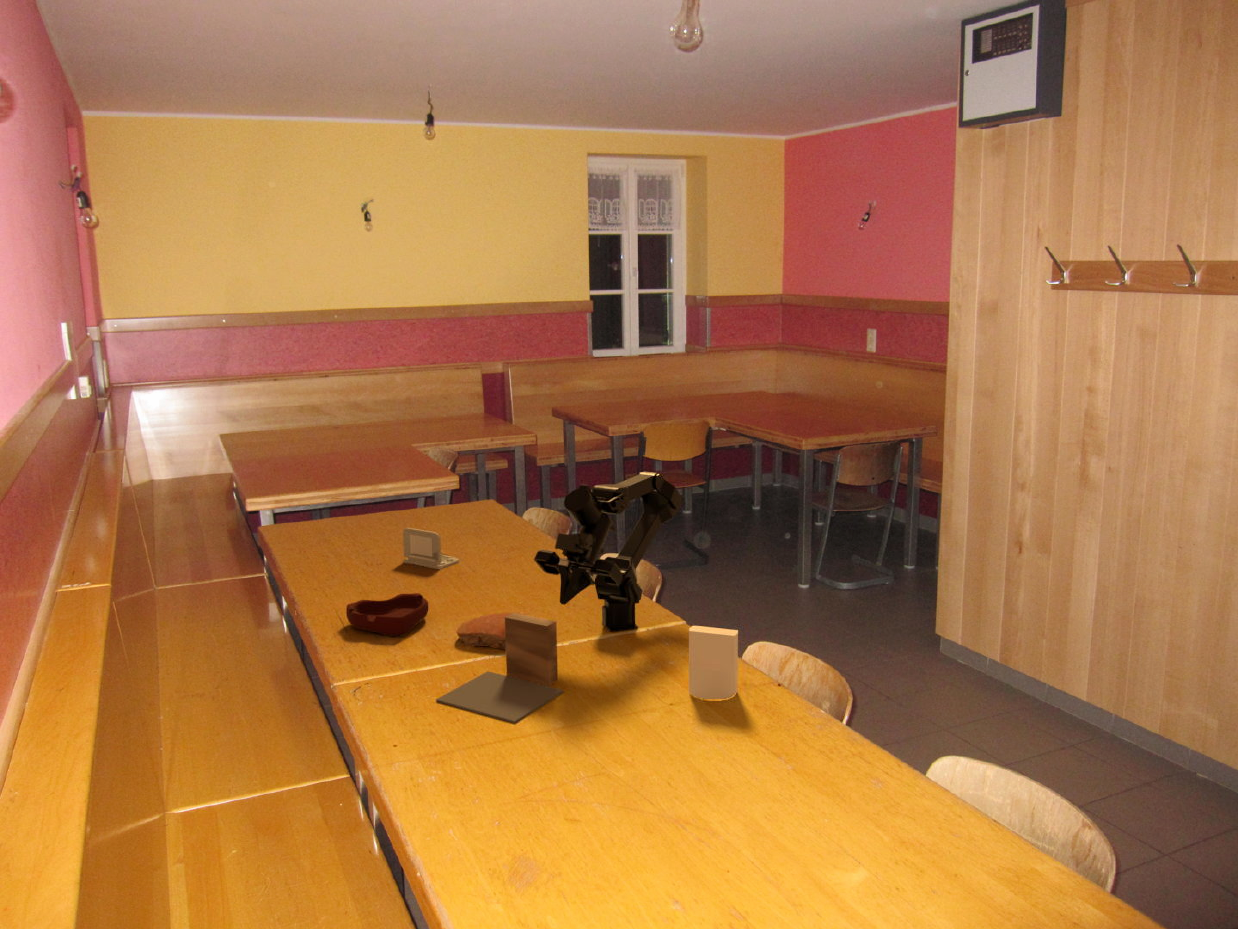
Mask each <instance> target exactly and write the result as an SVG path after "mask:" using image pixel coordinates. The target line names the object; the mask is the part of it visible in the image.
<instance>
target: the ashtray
mask: <svg viewBox="0 0 1238 929" xmlns="http://www.w3.org/2000/svg"><path fill="white" fill-rule="evenodd" d="M345 611H346V612H345V614H346V618H347V620H348V622H349V623H350V625H351V626H352V627H353V628H355V629H359V630H363V631H364V630H365V631H368V632H373V633H377V634H381V635H384V636H389V637H395V636H398V637H402V635H403V636H405V635H407V634H408V633H409V632H411V630H413V629H414V628H415V627H416V626H417V624H418V623H420V622H421V621H423V619H425V618H426V617H427V615H428V613H429V601H428V600H427V599H426V598H424V596H423V595H422V594H421V593H418V592H417V593H414V592H413V593H400V594H397V595H396V596H395V595H394V597H391V598H389V599H385V600H374V599H373V600H370V599H361V600H358V601H356V602H351V603H348V604H347V605H346V610H345Z"/></svg>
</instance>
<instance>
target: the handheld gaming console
mask: <svg viewBox="0 0 1238 929" xmlns="http://www.w3.org/2000/svg"><path fill="white" fill-rule="evenodd" d="M402 542H403V545H402V546H403V557H404V558H403V560H402V563H404V564H408V565H413V564H415V565H414V566H418V565H419V567H423V566H424V567H425V568H428V569H429V568H430V569H433V570H441V569H445V568H447V567H450V566H452V565H456V564H458V563H460V558H457V557H453V556H451V555H446V554H442V551H441V550H442V545H441V544H442V543H441V536H440V534H439V533H438V532H436V531H435V532H434V531H430V530H425V529H418V528H413V527H406V528H404V529H403V531H402ZM424 567H423V568H424Z"/></svg>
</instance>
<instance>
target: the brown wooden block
mask: <svg viewBox="0 0 1238 929" xmlns="http://www.w3.org/2000/svg"><path fill="white" fill-rule="evenodd" d="M512 613H513V614H511V615H509V616H507V617H505V637H506V650H505V655H506V656H505V659H506V661H505V663H506V676H509V677H513V678H517V679H521V680H525V681H529V682H533V683H537V684H541V685H545V686H549V687H551V686H552V685H553V684H555V683H556V682H558V681H559V677H558V639H557V638H558V637H557V636H558V634H557V630H558V629H557V621H556V620H553V619H552V620H551V619H547V618H541V617H537V616H532V615H527V614H524V613H520V614H518V613H519V612H512ZM523 614H524V615H523Z"/></svg>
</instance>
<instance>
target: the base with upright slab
mask: <svg viewBox="0 0 1238 929" xmlns="http://www.w3.org/2000/svg"><path fill="white" fill-rule="evenodd" d="M738 652H739V630H738V629H728V628H721V627H719V628H718V627H713V626H711V627H710V626H703V625H702V626H700V625H692V626H691V627H689V628H688V693H689V692H690V693H691V694H692V695H694V696H696V697H698V698H702V699H713V700H714V699H727V698H730V697H732V696H733V695H735V693H737V694H738V663H739V662H738V658H739V657H738V655H739V654H738ZM690 693H689V694H690Z"/></svg>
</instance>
